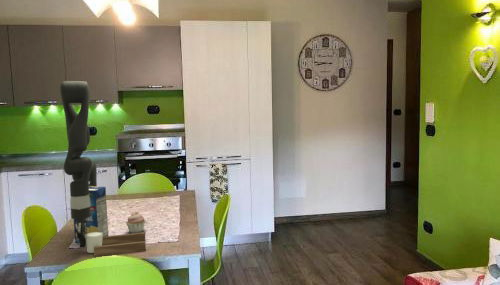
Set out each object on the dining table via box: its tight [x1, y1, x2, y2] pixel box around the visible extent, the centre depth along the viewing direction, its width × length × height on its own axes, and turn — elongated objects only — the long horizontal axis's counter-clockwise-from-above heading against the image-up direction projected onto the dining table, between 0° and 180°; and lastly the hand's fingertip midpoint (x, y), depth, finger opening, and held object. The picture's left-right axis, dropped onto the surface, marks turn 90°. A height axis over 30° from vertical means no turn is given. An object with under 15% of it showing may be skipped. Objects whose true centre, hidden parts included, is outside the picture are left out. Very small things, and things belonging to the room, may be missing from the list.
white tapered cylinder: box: [85, 232, 103, 254], centre depth 165 cm, size 7×7×7 cm
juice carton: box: [73, 185, 109, 244], centre depth 177 cm, size 12×8×24 cm, turn 76°
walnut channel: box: [93, 231, 147, 257], centre depth 169 cm, size 13×20×4 cm, turn 105°
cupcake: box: [125, 210, 147, 234], centre depth 189 cm, size 9×9×10 cm
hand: (82, 247), depth 164 cm, fingers closed
